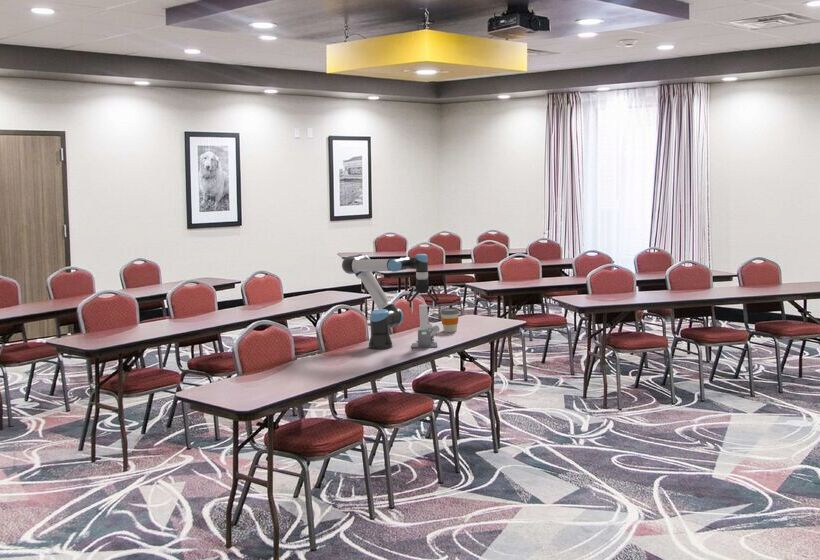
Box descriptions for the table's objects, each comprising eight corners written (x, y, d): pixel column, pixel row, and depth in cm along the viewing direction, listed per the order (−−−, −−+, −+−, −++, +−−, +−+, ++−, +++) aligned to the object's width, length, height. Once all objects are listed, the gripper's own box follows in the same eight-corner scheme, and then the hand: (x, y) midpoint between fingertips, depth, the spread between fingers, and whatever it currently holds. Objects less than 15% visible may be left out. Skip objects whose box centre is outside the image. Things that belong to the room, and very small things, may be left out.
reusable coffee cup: (438, 330, 605) (438, 308, 603) (455, 328, 608) (455, 307, 607) (444, 333, 593) (443, 311, 591) (461, 331, 596) (461, 310, 594)
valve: (429, 337, 579) (444, 332, 568) (415, 353, 567) (431, 348, 556) (420, 325, 577) (435, 319, 566) (407, 340, 565) (422, 335, 554)
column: (420, 334, 547) (419, 305, 545) (420, 332, 552) (419, 304, 550) (428, 333, 547) (427, 305, 545) (428, 332, 552) (427, 304, 550)
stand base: (411, 348, 544) (411, 332, 543) (412, 344, 556) (411, 329, 555) (437, 347, 544) (436, 331, 543) (437, 343, 556) (436, 328, 555)
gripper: (402, 279, 542) (403, 313, 544) (442, 278, 541) (443, 312, 544) (402, 278, 549) (403, 311, 552) (441, 277, 549) (442, 310, 551)
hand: (423, 312), depth 548 cm, fingers open, 13 cm apart
